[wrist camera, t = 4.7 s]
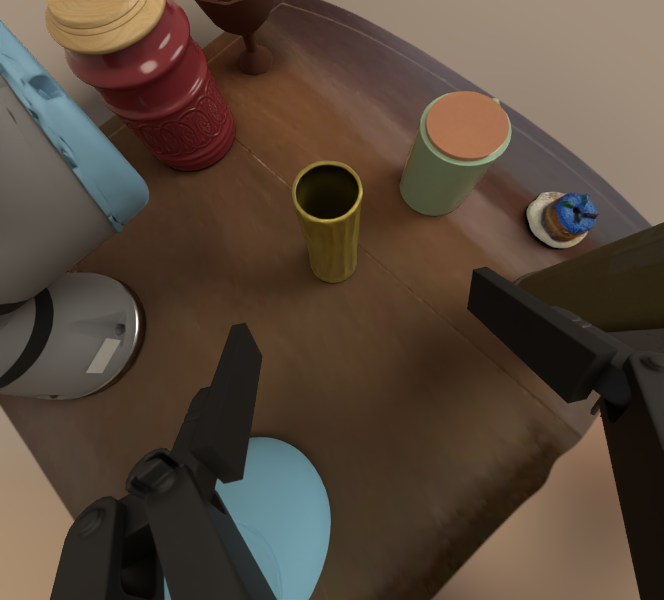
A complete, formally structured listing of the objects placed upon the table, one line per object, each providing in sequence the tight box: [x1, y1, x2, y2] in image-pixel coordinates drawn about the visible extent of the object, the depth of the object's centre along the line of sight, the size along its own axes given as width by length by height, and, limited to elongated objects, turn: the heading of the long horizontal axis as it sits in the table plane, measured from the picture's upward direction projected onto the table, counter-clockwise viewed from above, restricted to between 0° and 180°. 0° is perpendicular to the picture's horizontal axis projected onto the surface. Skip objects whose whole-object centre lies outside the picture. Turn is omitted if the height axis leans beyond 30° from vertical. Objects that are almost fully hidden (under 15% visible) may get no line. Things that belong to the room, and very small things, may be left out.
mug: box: [400, 91, 511, 216], centre depth 29 cm, size 9×12×9 cm
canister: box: [514, 223, 664, 354], centre depth 19 cm, size 11×10×20 cm
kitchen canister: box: [46, 0, 235, 171], centre depth 28 cm, size 13×13×18 cm
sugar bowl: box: [164, 437, 331, 600], centre depth 21 cm, size 15×15×12 cm
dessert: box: [527, 192, 599, 248], centre depth 30 cm, size 8×7×6 cm
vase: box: [292, 161, 363, 283], centre depth 25 cm, size 6×6×14 cm
